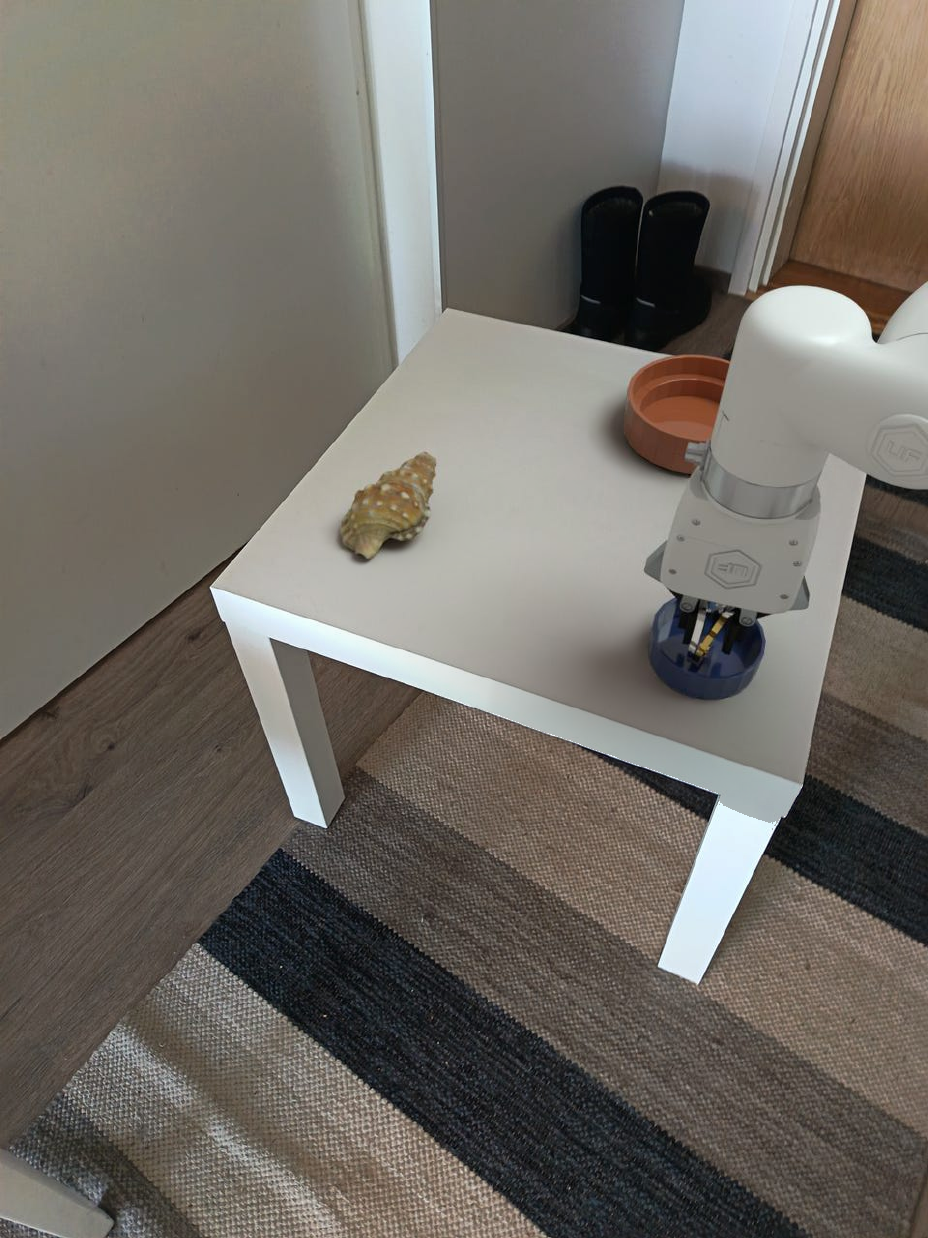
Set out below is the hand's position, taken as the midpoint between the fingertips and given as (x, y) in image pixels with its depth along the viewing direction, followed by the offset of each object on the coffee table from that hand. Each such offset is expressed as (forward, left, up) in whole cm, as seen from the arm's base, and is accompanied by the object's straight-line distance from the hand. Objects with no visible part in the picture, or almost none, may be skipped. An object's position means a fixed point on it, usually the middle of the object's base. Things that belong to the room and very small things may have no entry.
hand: (708, 635), depth 73 cm
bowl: (+6, -30, -3) cm, 31 cm away
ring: (0, 0, -3) cm, 3 cm away
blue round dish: (0, 0, -3) cm, 3 cm away
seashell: (+32, -7, -3) cm, 33 cm away
